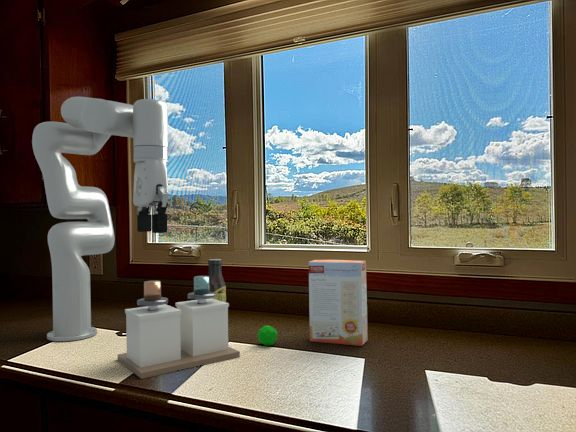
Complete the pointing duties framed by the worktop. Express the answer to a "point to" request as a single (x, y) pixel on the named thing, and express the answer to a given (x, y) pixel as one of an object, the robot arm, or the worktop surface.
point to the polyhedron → (267, 335)
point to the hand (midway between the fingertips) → (151, 232)
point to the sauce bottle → (216, 279)
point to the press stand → (176, 337)
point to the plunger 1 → (152, 296)
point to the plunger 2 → (201, 290)
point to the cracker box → (338, 302)
